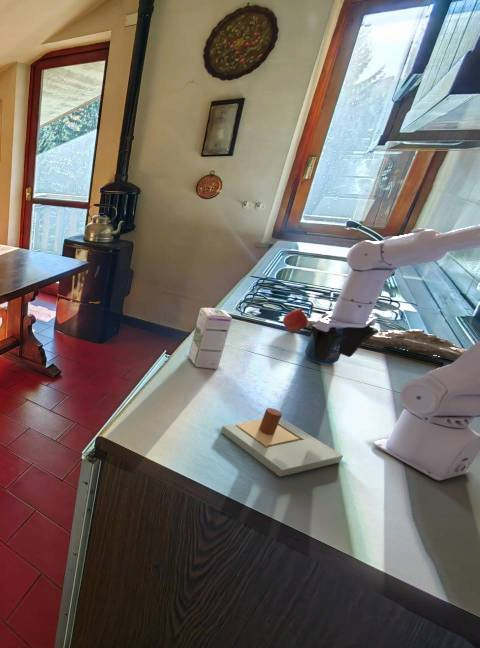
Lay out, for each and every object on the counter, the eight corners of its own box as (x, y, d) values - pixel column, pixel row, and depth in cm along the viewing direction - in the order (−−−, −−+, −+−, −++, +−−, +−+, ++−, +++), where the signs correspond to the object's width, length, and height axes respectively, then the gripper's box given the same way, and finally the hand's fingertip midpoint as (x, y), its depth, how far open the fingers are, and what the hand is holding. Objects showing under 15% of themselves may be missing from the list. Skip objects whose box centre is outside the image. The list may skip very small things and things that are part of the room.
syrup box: (218, 369, 99) (234, 317, 94) (193, 366, 100) (207, 314, 95) (210, 359, 104) (225, 308, 99) (186, 356, 105) (199, 306, 100)
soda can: (318, 365, 102) (335, 324, 97) (296, 353, 108) (312, 313, 103) (343, 365, 102) (362, 324, 97) (320, 353, 108) (337, 313, 104)
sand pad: (296, 444, 73) (307, 418, 71) (263, 452, 71) (273, 425, 69) (264, 424, 79) (274, 399, 77) (233, 430, 77) (242, 404, 75)
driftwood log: (303, 325, 130) (300, 335, 124) (307, 310, 128) (305, 320, 122) (464, 353, 108) (471, 368, 102) (473, 336, 106) (481, 350, 100)
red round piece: (275, 329, 123) (284, 306, 120) (286, 326, 126) (294, 303, 122) (296, 337, 118) (305, 312, 115) (306, 333, 121) (316, 310, 118)
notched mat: (339, 462, 69) (343, 455, 69) (279, 476, 66) (282, 470, 65) (275, 421, 80) (277, 415, 79) (220, 431, 76) (222, 425, 76)
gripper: (359, 290, 86) (336, 345, 92) (310, 295, 83) (289, 352, 88) (399, 301, 80) (371, 359, 85) (348, 307, 77) (322, 367, 82)
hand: (332, 356), depth 86 cm, fingers open, 7 cm apart
